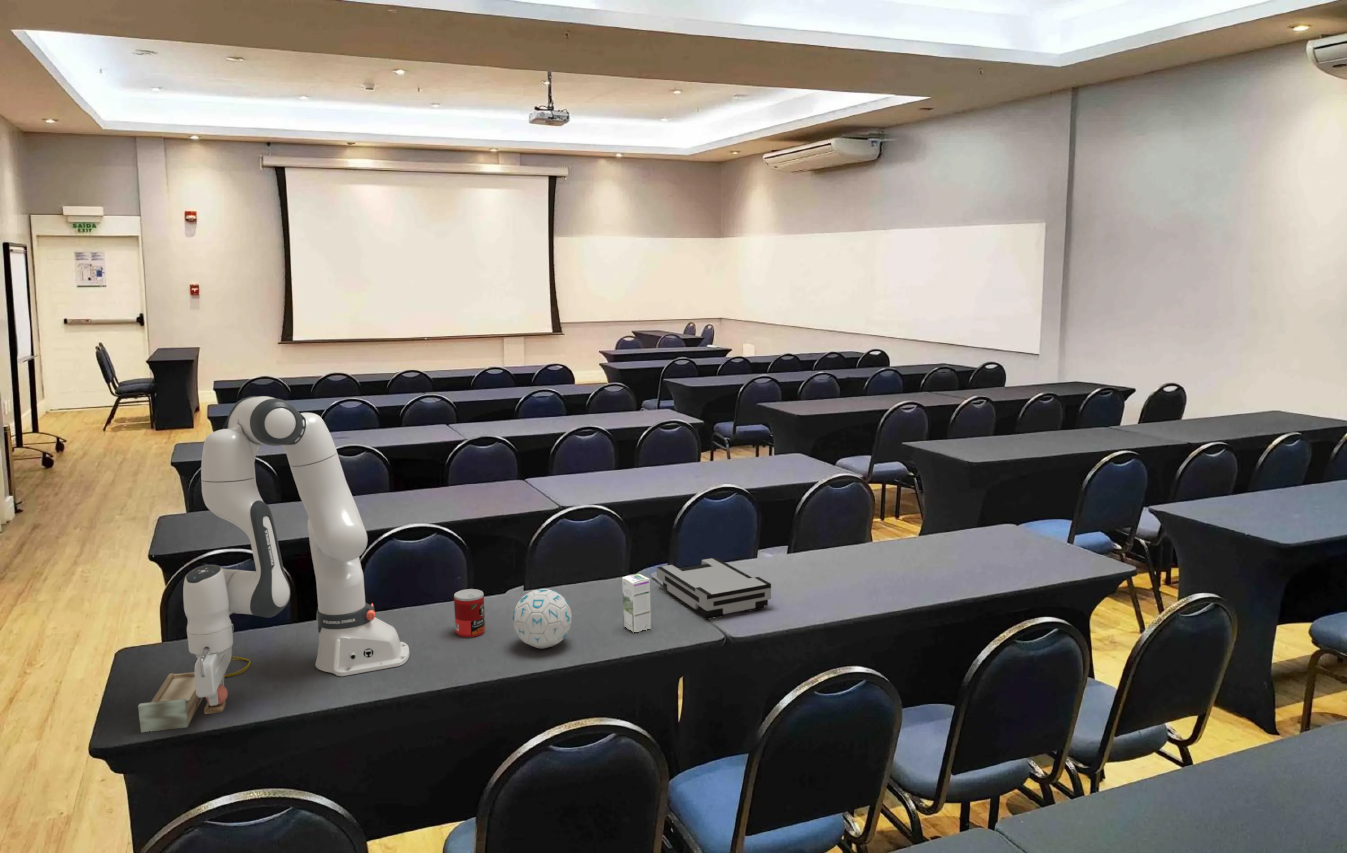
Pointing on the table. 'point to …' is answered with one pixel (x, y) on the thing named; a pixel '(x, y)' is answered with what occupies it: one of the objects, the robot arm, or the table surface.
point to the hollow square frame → (214, 708)
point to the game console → (714, 588)
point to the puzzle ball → (542, 618)
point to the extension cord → (239, 670)
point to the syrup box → (636, 602)
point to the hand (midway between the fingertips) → (217, 698)
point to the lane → (171, 704)
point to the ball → (221, 694)
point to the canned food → (469, 612)
